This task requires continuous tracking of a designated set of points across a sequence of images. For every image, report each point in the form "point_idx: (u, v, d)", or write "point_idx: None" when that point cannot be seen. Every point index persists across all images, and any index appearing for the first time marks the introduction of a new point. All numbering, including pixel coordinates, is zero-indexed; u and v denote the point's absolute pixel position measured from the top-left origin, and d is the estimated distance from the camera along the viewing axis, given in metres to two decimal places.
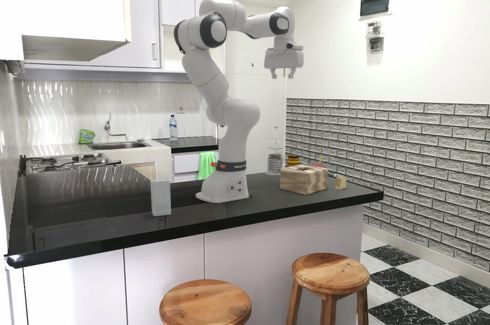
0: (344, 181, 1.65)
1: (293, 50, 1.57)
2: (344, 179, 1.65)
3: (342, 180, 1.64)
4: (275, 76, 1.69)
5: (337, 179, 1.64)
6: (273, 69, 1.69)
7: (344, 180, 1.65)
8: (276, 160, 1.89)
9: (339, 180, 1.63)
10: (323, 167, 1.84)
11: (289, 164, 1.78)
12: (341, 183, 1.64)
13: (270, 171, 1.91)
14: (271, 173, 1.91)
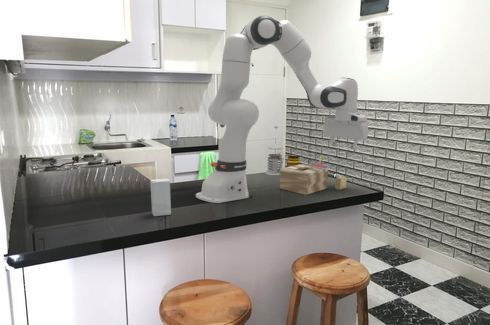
0: (344, 181, 1.65)
1: (358, 122, 1.54)
2: (344, 179, 1.65)
3: (342, 180, 1.64)
4: (335, 144, 1.65)
5: (337, 179, 1.64)
6: (333, 137, 1.65)
7: (344, 180, 1.65)
8: (276, 160, 1.89)
9: (339, 180, 1.63)
10: (323, 167, 1.84)
11: (289, 164, 1.78)
12: (341, 183, 1.64)
13: (270, 171, 1.91)
14: (271, 173, 1.91)
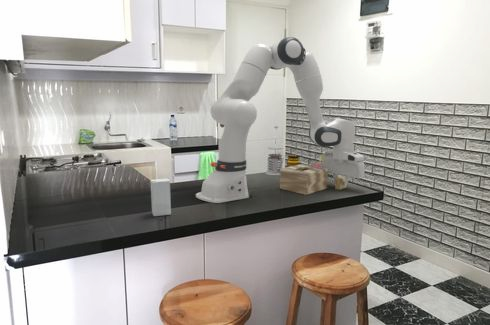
0: None
1: (355, 162, 1.57)
2: (344, 179, 1.65)
3: (342, 180, 1.64)
4: None
5: (337, 179, 1.64)
6: (336, 175, 1.67)
7: (344, 180, 1.65)
8: (276, 160, 1.89)
9: (339, 180, 1.63)
10: None
11: (289, 164, 1.78)
12: (341, 183, 1.64)
13: (270, 171, 1.91)
14: (271, 173, 1.91)
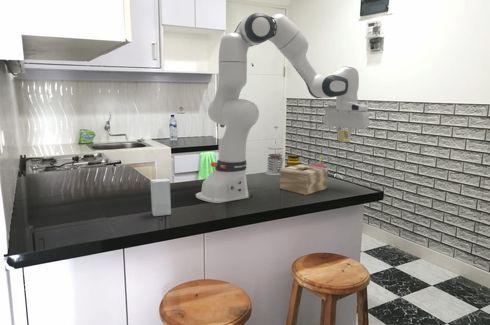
0: None
1: (359, 112, 1.53)
2: (347, 131, 1.61)
3: (345, 132, 1.60)
4: None
5: (340, 131, 1.60)
6: (339, 127, 1.62)
7: (347, 132, 1.61)
8: (276, 160, 1.89)
9: (342, 132, 1.59)
10: (323, 167, 1.84)
11: (289, 164, 1.78)
12: (345, 135, 1.60)
13: (270, 171, 1.91)
14: (271, 173, 1.91)
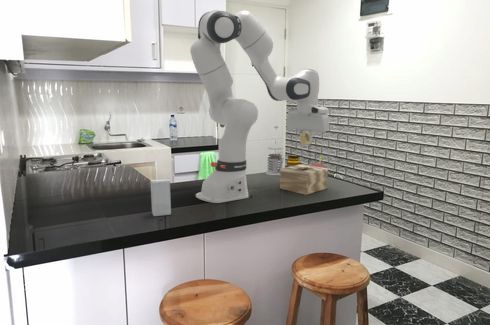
0: None
1: (318, 115, 1.51)
2: (309, 134, 1.60)
3: (307, 135, 1.59)
4: None
5: (302, 134, 1.59)
6: (301, 130, 1.61)
7: (309, 135, 1.60)
8: (276, 160, 1.89)
9: (304, 135, 1.58)
10: (323, 167, 1.84)
11: (289, 164, 1.78)
12: (306, 138, 1.58)
13: (270, 171, 1.91)
14: (271, 173, 1.91)
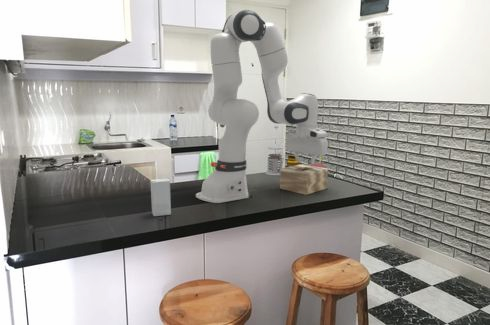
0: None
1: (317, 138, 1.53)
2: None
3: None
4: (299, 159, 1.64)
5: None
6: (297, 152, 1.64)
7: None
8: (276, 160, 1.89)
9: None
10: (323, 167, 1.84)
11: (289, 164, 1.78)
12: None
13: (270, 171, 1.91)
14: (271, 173, 1.91)
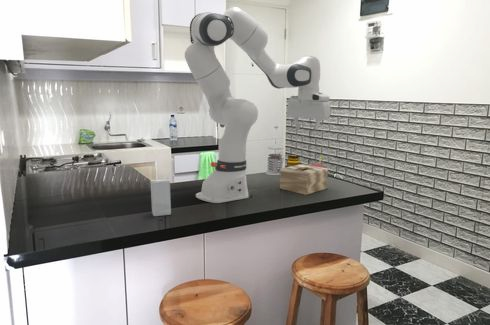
0: None
1: (319, 102, 1.50)
2: None
3: None
4: (298, 125, 1.62)
5: None
6: (296, 118, 1.62)
7: None
8: (276, 160, 1.89)
9: None
10: (323, 167, 1.84)
11: (289, 164, 1.78)
12: None
13: (270, 171, 1.91)
14: (271, 173, 1.91)
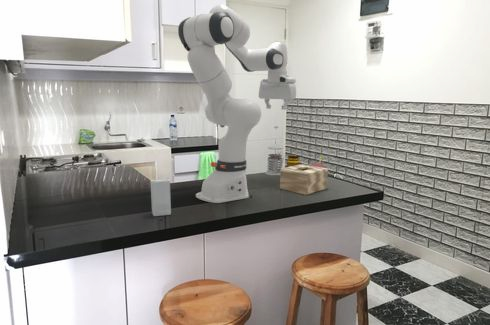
0: None
1: (286, 83, 1.65)
2: None
3: None
4: (269, 106, 1.77)
5: None
6: (267, 99, 1.77)
7: None
8: (276, 160, 1.89)
9: None
10: (323, 167, 1.84)
11: (289, 164, 1.78)
12: None
13: (270, 171, 1.91)
14: (271, 173, 1.91)
